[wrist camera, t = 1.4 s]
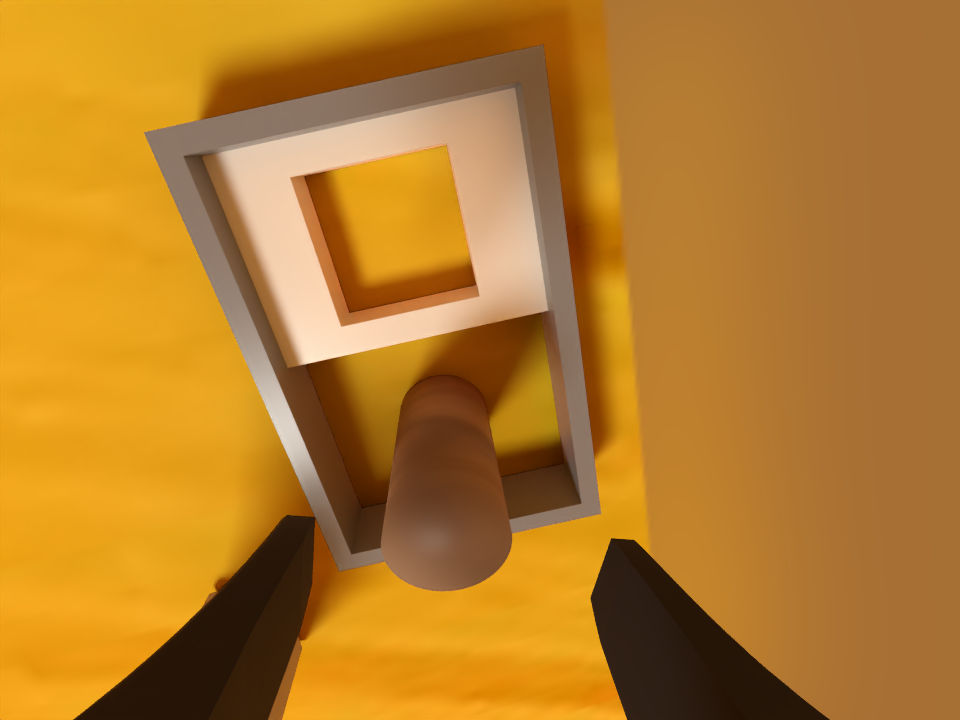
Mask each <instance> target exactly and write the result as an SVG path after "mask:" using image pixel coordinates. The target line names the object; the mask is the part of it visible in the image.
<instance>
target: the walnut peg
mask: <svg viewBox="0 0 960 720" xmlns="http://www.w3.org/2000/svg"><path fill="white" fill-rule="evenodd" d="M511 544H512V531H511V526H510V522H509V517H508V512H507V507H506V502H505V497H504V492H503V487H502V482H501V477H500V473H499V468H498V463H497V458H496V453H495V448H494V443H493V438H492V433H491V428H490V423H489V419H488V414H487V409H486V404H485V401H484V398H483V396H482V395H481V393H480V392H479V390H478V389H477V388H476V387H475V386H474V385H472V384H471V383H470V382H468V381H466V380H464V379H462V378H459V377H456V376H450V375H438V376H433V377H429V378H426V379H424V380H422V381H420V382H418V383H417V384H415V385H414V386H413V387H412V388H411V389H410V390H409V391H408V392H407V394H406V395H405V397H404V399H403V401H402V405H401V410H400V417H399V423H398V430H397V437H396V443H395V450H394V457H393V464H392V470H391V477H390V484H389V490H388V497H387V504H386V511H385V517H384V524H383V531H382V538H381V550H382V555H383V557H384V560H385V562H386V563H387V565H388V567H389V568H390V569H391V570H392V572H393V573H394V574H396V575H397V576H398V577H399V578H400V579H402V580H403V581H405V582H407V583H409V584H411V585H413V586H416V587H418V588H422V589H426V590H432V591H453V590H460V589H464V588H468V587H471V586H473V585H476V584H478V583H480V582H482V581H484V580H486V579H487V578H489V577H490V576H491V575H493V574H494V573H495V572H496V571H497V570H498V569H499V568H500V567H501V566H502V565H503V563H504V562H505V560H506V558H507V556H508V554H509V552H510V549H511Z"/></svg>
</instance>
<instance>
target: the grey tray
mask: <svg viewBox="0 0 960 720" xmlns="http://www.w3.org/2000/svg"><path fill="white" fill-rule="evenodd" d="M144 134H145V136H146V138H147V140H148V143H149V145H150V147H151V149H152V152H153V154H154V156H155V158H156V161H157V163H158V165H159V167H160V169H161V172H162V174H163V176H164V178H165V181H166V183H167V185H168V187H169V190H170V192H171V194H172V196H173V199H174V201H175V203H176V205H177V208H178V210H179V212H180V214H181V217H182V219H183V221H184V223H185V226H186V228H187V230H188V232H189V235H190V237H191V239H192V241H193V244H194V246H195V248H196V250H197V253H198V255H199V257H200V259H201V262H202V264H203V266H204V268H205V271H206V273H207V275H208V277H209V280H210V282H211V284H212V286H213V289H214V291H215V293H216V295H217V298H218V300H219V302H220V304H221V307H222V309H223V311H224V313H225V316H226V318H227V320H228V322H229V325H230V327H231V329H232V331H233V334H234V336H235V338H236V340H237V343H238V345H239V347H240V349H241V352H242V354H243V356H244V358H245V361H246V363H247V365H248V367H249V370H250V372H251V374H252V376H253V379H254V381H255V383H256V385H257V387H258V390H259V392H260V394H261V396H262V399H263V401H264V403H265V405H266V408H267V410H268V412H269V414H270V417H271V419H272V421H273V423H274V426H275V428H276V430H277V432H278V435H279V437H280V439H281V441H282V444H283V446H284V448H285V450H286V453H287V455H288V457H289V459H290V462H291V464H292V466H293V468H294V471H295V473H296V475H297V477H298V480H299V482H300V484H301V486H302V489H303V491H304V493H305V495H306V498H307V500H308V502H309V504H310V507H311V509H312V511H313V513H314V516H315V518H316V520H317V522H318V525H319V527H320V529H321V531H322V534H323V536H324V538H325V540H326V543H327V545H328V547H329V549H330V552H331V554H332V556H333V558H334V561H335V563H336V565H337V567H338V570H339V571H344V570H348V569H353V568H357V567H362V566H366V565H371V564H375V563H380V562H384V561H385V560H384V557H383V555H382V550H381V538H382V531H383V524H384V517H385V511H386V504H387V503H383V504H378V505H374V506H369V507H365V508H361V506H360V503H359V500H358V498H357V495H356V493H355V490H354V488H353V485H352V482H351V480H350V477H349V475H348V472H347V470H346V467H345V464H344V462H343V459H342V457H341V454H340V452H339V449H338V446H337V444H336V441H335V439H334V436H333V434H332V431H331V428H330V426H329V423H328V421H327V418H326V416H325V413H324V410H323V408H322V405H321V403H320V400H319V398H318V395H317V392H316V390H315V387H314V385H313V382H312V380H311V377H310V374H309V372H308V369H307V367H306V364H308V363H313V362H317V361H322V360H327V359H331V358H336V357H340V356H345V355H349V354H354V353H358V352H363V351H367V350H372V349H376V348H381V347H385V346H390V345H395V344H399V343H404V342H408V341H413V340H417V339H422V338H426V337H431V336H435V335H440V334H444V333H449V332H453V331H458V330H463V329H467V328H472V327H476V326H481V325H485V324H490V323H494V322H499V321H503V320H508V319H512V318H517V317H521V316H526V315H531V314H535V313H540V312H541V316H542V322H543V329H544V335H545V342H546V348H547V355H548V361H549V368H550V374H551V381H552V387H553V393H554V400H555V406H556V413H557V419H558V426H559V432H560V439H561V445H562V452H563V458H564V464H559V465H555V466H550V467H546V468H541V469H537V470H532V471H528V472H523V473H519V474H514V475H510V476H505V477H501V482H502V487H503V492H504V497H505V502H506V507H507V512H508V517H509V522H510V526H511V531H512V533H516V532H520V531H525V530H529V529H534V528H538V527H543V526H547V525H552V524H557V523H561V522H566V521H570V520H575V519H579V518H584V517H588V516H593V515H597V514H601V510H600V501H599V493H598V485H597V477H596V469H595V461H594V452H593V444H592V436H591V428H590V420H589V412H588V404H587V395H586V387H585V379H584V371H583V363H582V355H581V346H580V338H579V330H578V322H577V314H576V306H575V297H574V289H573V281H572V273H571V265H570V257H569V249H568V240H567V232H566V224H565V216H564V208H563V200H562V191H561V183H560V175H559V167H558V159H557V151H556V142H555V134H554V126H553V118H552V110H551V102H550V94H549V85H548V77H547V69H546V61H545V53H544V45H539V46H535V47H530V48H525V49H521V50H516V51H512V52H507V53H503V54H498V55H494V56H489V57H485V58H480V59H476V60H471V61H466V62H462V63H457V64H453V65H448V66H444V67H439V68H435V69H430V70H426V71H421V72H417V73H412V74H407V75H403V76H398V77H394V78H389V79H385V80H380V81H376V82H371V83H367V84H362V85H357V86H353V87H348V88H344V89H339V90H335V91H330V92H326V93H321V94H317V95H312V96H308V97H303V98H298V99H294V100H289V101H285V102H280V103H276V104H271V105H267V106H262V107H258V108H253V109H249V110H244V111H239V112H235V113H230V114H226V115H221V116H217V117H212V118H208V119H203V120H199V121H194V122H189V123H185V124H180V125H176V126H171V127H167V128H162V129H158V130H153V131H149V132H144ZM444 145H447V149H448V153H449V158H450V163H451V168H452V173H453V177H454V182H455V187H456V192H457V196H458V201H459V206H460V211H461V216H462V220H463V225H464V230H465V235H466V239H467V244H468V249H469V254H470V259H471V263H472V268H473V273H474V278H475V282H476V285H474V286H470V287H465V288H461V289H456V290H452V291H447V292H443V293H438V294H434V295H429V296H425V297H420V298H415V299H411V300H406V301H402V302H397V303H393V304H388V305H384V306H379V307H375V308H370V309H366V310H361V311H357V312H352V313H349V311H348V308H347V304H346V301H345V298H344V295H343V292H342V289H341V286H340V283H339V280H338V277H337V274H336V271H335V268H334V265H333V262H332V259H331V256H330V253H329V250H328V247H327V244H326V241H325V238H324V235H323V232H322V229H321V226H320V223H319V220H318V217H317V214H316V211H315V208H314V205H313V202H312V199H311V196H310V193H309V190H308V186H307V183H306V180H305V177H304V176H308V175H312V174H317V173H321V172H326V171H330V170H335V169H339V168H344V167H348V166H353V165H357V164H362V163H367V162H371V161H376V160H380V159H385V158H389V157H394V156H398V155H403V154H407V153H412V152H416V151H421V150H426V149H430V148H435V147H439V146H444Z"/></svg>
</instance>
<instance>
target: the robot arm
mask: <svg viewBox="0 0 960 720" xmlns="http://www.w3.org/2000/svg"><path fill="white" fill-rule="evenodd" d="M314 527H315V517H306V516H292V515H287V516H286V517H284V518H283V519H282V520H281V521H280V522H279V523H278V525H277V526H276V527H275V529H274V530H273V531H272V532H271V533H270V535H269V536H268V537H267V538H266V540H265V541H264V542H263V543H262V544H261V545H260V547H259V548H258V549H257V550H256V551H255V552H254V553H253V555H252V556H251V557H250V558H249V559H248V560H247V561H246V563H245V564H244V565H243V566H242V567H241V568H240V569H239V570H238V571H237V572H236V573H235V574H234V576H233V577H232V578H231V579H230V580H229V581H228V582H227V583H226V584H225V585H224V586H223V587H222V588H221V589H220V591H219V592H218V593H217V594H216V595H215V596H214V597H213V598H212V599H211V600H210V601H209V602H208V603H207V604H206V605H205V606H204V607H202V608H201V609H200V610H199V611H198V612H197V613H196V614H195V615H194V616H193V617H192V618H191V619H190V620H189V621H188V622H187V623H186V624H185V625H184V626H183V627H182V628H181V629H180V630H179V631H178V632H177V633H176V634H175V635H174V636H172V637H171V638H170V639H169V640H168V641H167V642H166V643H165V644H164V645H163V646H161V647H160V648H159V649H158V650H157V651H156V652H155V653H154V654H153V655H151V656H150V657H149V658H148V659H147V660H146V661H144V662H143V663H142V664H141V665H140V666H139V667H138V668H136V669H135V670H134V671H133V672H132V673H131V674H129V675H128V676H127V677H126V678H125V679H123V680H122V681H121V682H120V683H119V684H117V685H116V686H115V687H114V688H112V689H111V690H110V691H109V692H107V693H106V694H105V695H104V696H102V697H101V698H100V699H99V700H97V701H96V702H95V703H94V704H93V705H91V706H90V707H89V708H88V709H86V710H85V711H84V712H83V713H81V714H80V715H79V716H77V717H76V718H75V719H74V720H268V718H269V716H270V713H271V710H272V707H273V705H274V702H275V699H276V696H277V694H278V691H279V688H280V685H281V683H282V680H283V677H284V674H285V672H286V669H287V666H288V663H289V660H290V658H291V655H292V652H293V649H294V646H295V644H296V641H297V638H298V635H299V632H300V629H301V625H302V621H303V618H304V614H305V610H306V606H307V602H308V598H309V594H310V590H311V586H312V573H313V550H314ZM591 602H592V607H593V612H594V617H595V622H596V626H597V630H598V634H599V638H600V642H601V645H602V648H603V651H604V654H605V657H606V660H607V663H608V666H609V669H610V672H611V675H612V678H613V680H614V683H615V686H616V689H617V692H618V695H619V697H620V700H621V703H622V706H623V709H624V712H625V714H626V717H627V720H829V719H828V718H827V717H825V716H824V715H823V714H821V713H820V712H819V711H818V710H816V709H815V708H814V707H813V706H811V705H810V704H809V703H807V702H806V701H805V700H804V699H802V698H801V697H800V696H799V695H797V694H796V693H795V692H794V691H793V690H791V689H790V688H789V687H788V686H786V685H785V684H784V683H783V682H782V681H781V680H779V679H778V678H777V677H776V676H774V675H773V674H772V673H771V672H770V671H768V670H767V669H766V668H765V667H763V666H762V664H760V663H759V662H758V661H757V660H756V659H755V658H754V657H752V656H751V655H750V654H749V653H748V652H747V651H746V650H745V649H744V648H743V647H742V646H740V645H739V644H738V643H737V642H736V641H735V640H734V639H733V638H732V637H731V636H729V635H728V634H727V633H726V632H725V631H724V630H723V629H722V628H721V627H720V626H719V625H718V624H717V623H716V622H715V621H714V620H713V619H712V618H711V617H710V616H709V615H707V613H706V612H705V611H704V610H703V609H702V608H701V607H700V606H699V605H698V604H696V602H695V601H694V600H693V599H692V598H691V597H690V596H689V595H688V594H687V593H686V592H685V591H684V590H683V589H682V588H681V587H680V586H679V585H678V584H677V583H676V582H675V581H674V580H673V579H672V578H671V577H670V576H669V575H668V574H667V573H666V572H665V571H664V570H663V568H662V567H661V566H660V565H659V564H658V563H657V562H656V561H655V560H654V559H653V558H652V557H651V556H650V555H649V554H648V553H647V552H646V551H645V550H644V549H643V548H642V547H641V546H640V545H639V544H638V543H637V542H636V541H635V540H627V539H613V538H611V541H610V544H609V547H608V549H607V552H606V555H605V558H604V561H603V564H602V567H601V569H600V572H599V575H598V578H597V581H596V584H595V587H594V589H593V592H592V595H591Z"/></svg>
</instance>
